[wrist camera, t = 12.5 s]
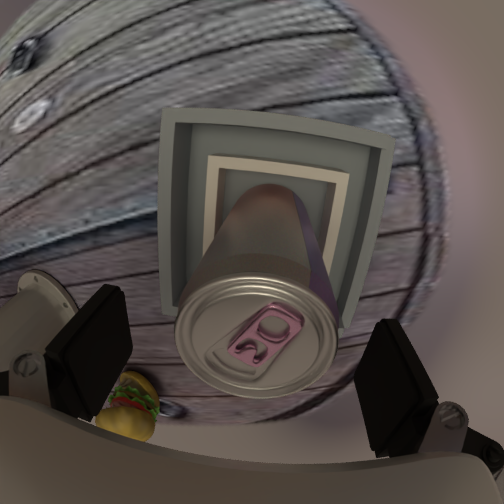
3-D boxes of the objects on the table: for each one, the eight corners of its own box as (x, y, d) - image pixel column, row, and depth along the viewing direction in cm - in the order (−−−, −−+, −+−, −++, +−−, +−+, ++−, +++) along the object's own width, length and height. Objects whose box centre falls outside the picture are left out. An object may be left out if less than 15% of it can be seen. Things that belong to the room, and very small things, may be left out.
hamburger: (121, 355, 33) (80, 423, 22) (171, 375, 33) (141, 451, 22) (122, 387, 36) (90, 448, 25) (167, 405, 36) (142, 471, 25)
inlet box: (342, 306, 27) (352, 338, 22) (179, 285, 27) (161, 313, 23) (379, 137, 20) (404, 139, 16) (185, 112, 21) (162, 107, 16)
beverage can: (321, 212, 22) (380, 334, 8) (277, 266, 24) (270, 418, 11) (261, 167, 21) (228, 228, 7) (218, 226, 23) (143, 352, 10)
